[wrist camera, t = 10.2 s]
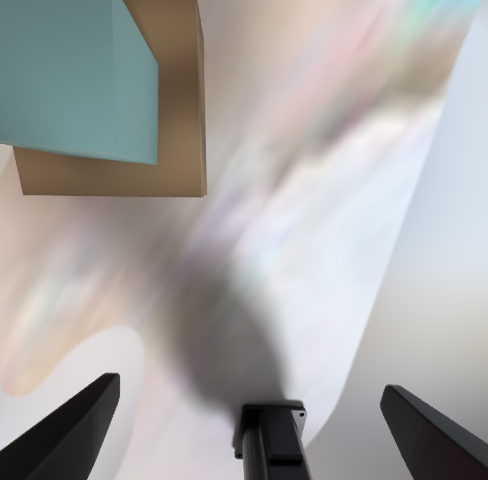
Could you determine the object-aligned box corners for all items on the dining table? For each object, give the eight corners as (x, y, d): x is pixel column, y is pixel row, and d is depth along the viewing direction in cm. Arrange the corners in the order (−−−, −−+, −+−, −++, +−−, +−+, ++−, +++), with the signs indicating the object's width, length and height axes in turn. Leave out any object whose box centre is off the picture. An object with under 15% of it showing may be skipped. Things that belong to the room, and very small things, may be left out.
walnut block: (207, 194, 17) (201, 197, 14) (70, 192, 17) (23, 194, 13) (203, 40, 15) (195, -10, 11) (43, 30, 14) (-26, -27, 10)
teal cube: (157, 165, 13) (116, 152, 8) (63, 155, 12) (-41, 135, 8) (158, 64, 12) (111, -21, 7) (55, 49, 11) (-75, -55, 6)
